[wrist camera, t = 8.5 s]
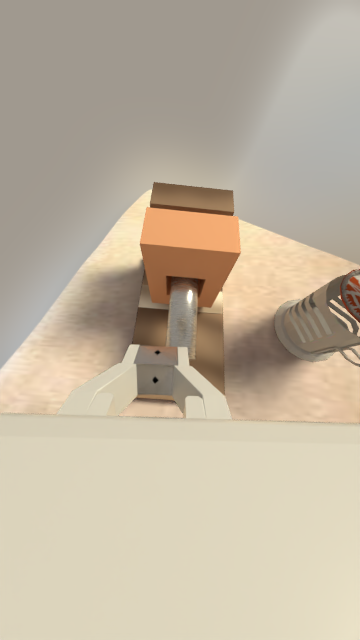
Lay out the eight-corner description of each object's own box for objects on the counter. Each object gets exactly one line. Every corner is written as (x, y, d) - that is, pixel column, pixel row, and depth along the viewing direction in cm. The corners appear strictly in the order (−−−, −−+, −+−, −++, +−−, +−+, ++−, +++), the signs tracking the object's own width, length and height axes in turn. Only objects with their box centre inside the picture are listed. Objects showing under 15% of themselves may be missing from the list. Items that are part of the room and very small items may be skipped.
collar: (211, 307, 24) (240, 253, 14) (151, 302, 24) (139, 243, 14) (211, 282, 25) (238, 216, 15) (155, 277, 25) (146, 207, 15)
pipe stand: (221, 402, 22) (278, 421, 11) (125, 396, 22) (78, 407, 10) (219, 265, 29) (251, 188, 18) (148, 258, 29) (134, 176, 18)
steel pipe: (193, 362, 18) (197, 357, 15) (164, 359, 18) (163, 355, 15) (197, 247, 23) (201, 229, 21) (175, 245, 23) (176, 226, 21)
